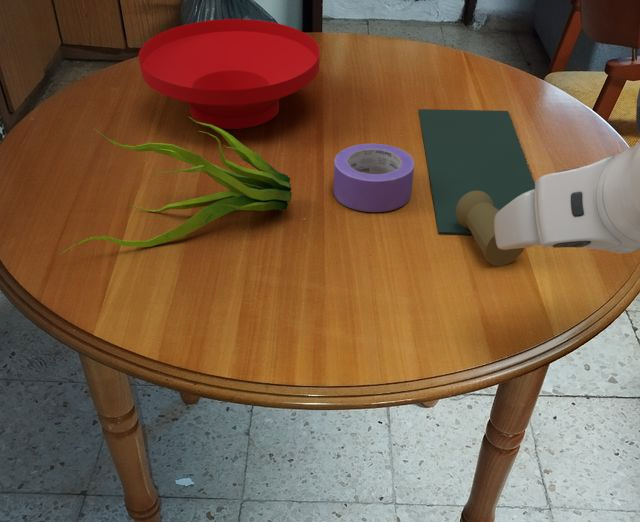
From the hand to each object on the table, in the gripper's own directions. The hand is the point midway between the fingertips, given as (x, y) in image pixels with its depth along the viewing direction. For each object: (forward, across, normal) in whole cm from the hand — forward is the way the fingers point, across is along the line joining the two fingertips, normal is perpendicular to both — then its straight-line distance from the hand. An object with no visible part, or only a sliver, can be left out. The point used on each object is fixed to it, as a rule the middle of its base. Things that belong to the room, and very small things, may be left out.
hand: (562, 236), depth 77 cm
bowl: (+51, +34, -36) cm, 71 cm away
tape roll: (+28, +15, -14) cm, 35 cm away
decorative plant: (+23, +43, -9) cm, 50 cm away
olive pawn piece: (+11, +2, -1) cm, 11 cm away
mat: (+32, -3, -18) cm, 37 cm away
